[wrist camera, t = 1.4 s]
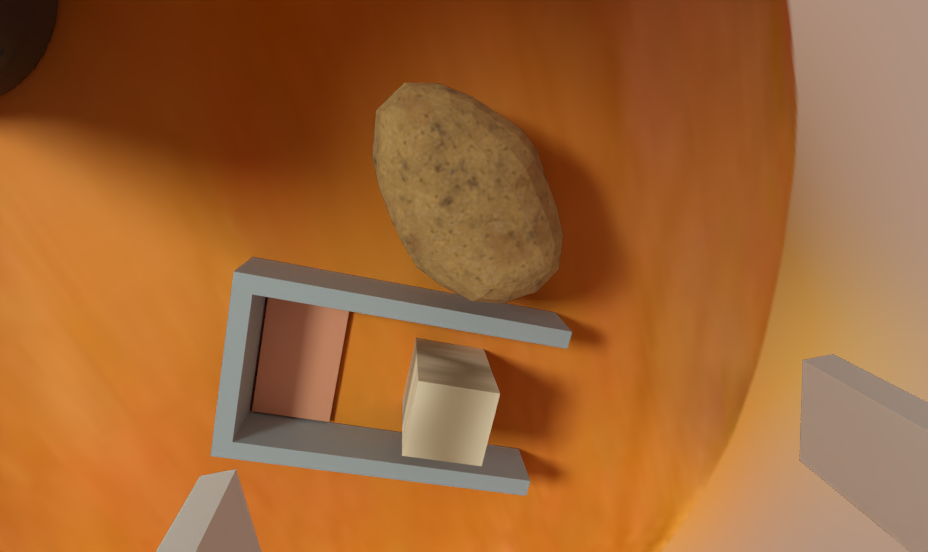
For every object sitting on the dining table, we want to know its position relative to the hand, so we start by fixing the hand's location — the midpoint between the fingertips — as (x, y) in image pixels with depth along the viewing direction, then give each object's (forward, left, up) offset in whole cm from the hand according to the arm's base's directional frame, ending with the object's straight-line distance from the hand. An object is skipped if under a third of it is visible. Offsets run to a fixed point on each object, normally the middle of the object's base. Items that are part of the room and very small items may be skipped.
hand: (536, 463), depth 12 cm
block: (+2, -9, -25) cm, 27 cm away
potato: (0, +4, -26) cm, 26 cm away
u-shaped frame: (-1, -9, -25) cm, 27 cm away
